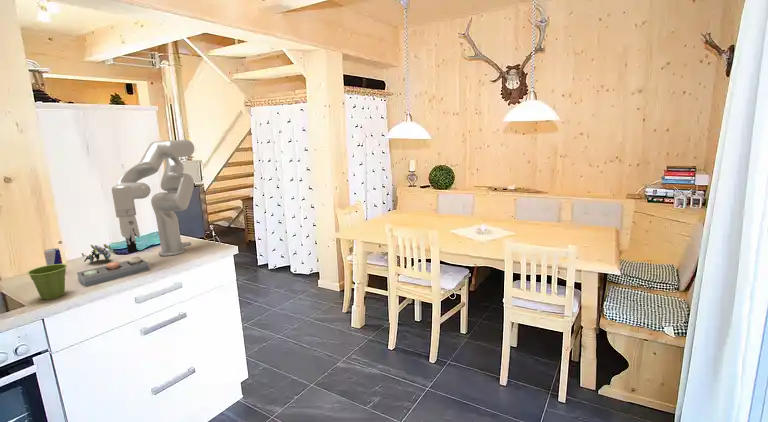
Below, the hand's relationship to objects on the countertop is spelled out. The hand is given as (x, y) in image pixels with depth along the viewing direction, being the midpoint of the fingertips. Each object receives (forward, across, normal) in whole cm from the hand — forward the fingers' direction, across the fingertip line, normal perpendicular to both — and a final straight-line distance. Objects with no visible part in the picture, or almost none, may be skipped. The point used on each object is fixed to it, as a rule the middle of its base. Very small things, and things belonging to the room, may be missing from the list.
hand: (132, 252), depth 179 cm
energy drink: (+9, +23, +25) cm, 35 cm away
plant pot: (+9, -7, +31) cm, 33 cm away
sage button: (+6, 0, +17) cm, 18 cm away
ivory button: (+5, 0, 0) cm, 5 cm away
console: (+8, 0, +8) cm, 12 cm away
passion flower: (+9, +28, +8) cm, 30 cm away
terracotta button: (+5, 0, +8) cm, 10 cm away
